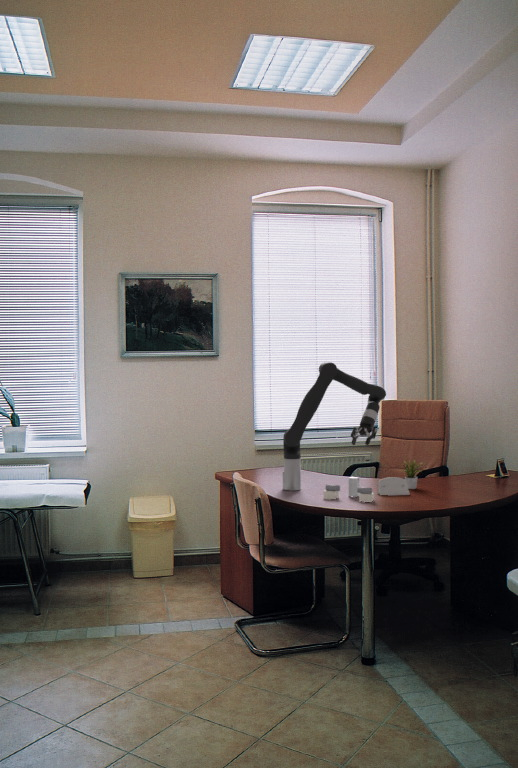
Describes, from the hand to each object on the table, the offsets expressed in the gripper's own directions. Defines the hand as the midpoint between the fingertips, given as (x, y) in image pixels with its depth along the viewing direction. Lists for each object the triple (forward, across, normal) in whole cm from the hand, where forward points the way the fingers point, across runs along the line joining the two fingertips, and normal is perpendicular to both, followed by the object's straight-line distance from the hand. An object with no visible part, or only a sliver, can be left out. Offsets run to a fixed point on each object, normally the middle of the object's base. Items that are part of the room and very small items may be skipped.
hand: (359, 444), depth 358 cm
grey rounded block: (+15, +12, +25) cm, 32 cm away
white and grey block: (+30, +12, +6) cm, 33 cm away
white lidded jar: (+33, -6, +1) cm, 33 cm away
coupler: (+26, 0, +10) cm, 28 cm away
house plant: (+3, +13, +40) cm, 42 cm away
